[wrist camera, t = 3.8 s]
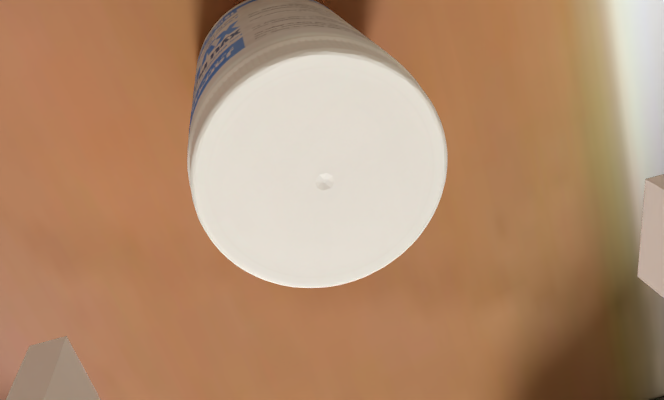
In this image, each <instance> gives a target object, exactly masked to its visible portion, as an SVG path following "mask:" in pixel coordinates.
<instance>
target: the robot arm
mask: <svg viewBox="0 0 664 400" xmlns="http://www.w3.org/2000/svg"><path fill="white" fill-rule="evenodd" d="M637 277H639V278H640V279H641V280H642V281H643V282H645V283H646V284H647V285H648V286H650V287H651V288H652V289H653V290H654V291H656V292H657V293H658V294H659V295H661V296H662V297H663V298H664V174H663V175H659V176H655V177H652V178H648V179H645V191H644V203H643V215H642V227H641V239H640V251H639V264H638V276H637ZM6 400H101V399H100V397H99V396H98V394H97V392H96V390H95V388H94V386H93V384H92V383H91V381H90V379H89V377H88V375H87V373H86V371H85V370H84V368H83V366H82V364H81V362H80V360H79V358H78V357H77V355H76V353H75V351H74V349H73V347H72V345H71V343H70V342H69V340H68V338H67V336H65V337H61V338H57V339H54V340H50V341H46V342H43V343H39V344H35V345H31V346H29V348H28V350H27V353H26V355H25V357H24V359H23V362H22V364H21V366H20V369H19V371H18V373H17V375H16V378H15V380H14V382H13V385H12V387H11V389H10V391H9V394H8V396H7V398H6ZM656 400H664V397H662V398H659V399H656Z"/></svg>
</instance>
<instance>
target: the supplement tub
mask: <svg viewBox="0 0 664 400" xmlns="http://www.w3.org/2000/svg"><path fill="white" fill-rule="evenodd" d="M187 161H188V176H189V182H190V187H191V192H192V199H193V202H194V206H195V209H196V212H197V215H198V218H199V220H200V222H201V224H202V226H203V228H204V230H205V231H206V233H207V235H208V236H209V238H210V239H211V241H212V242H213V243H214V245H215V246H216V247H217V248H218V249H219V250H220V251H221V253H223V254H224V255H225V256H226V257H227V258H228V259H229V260H230V261H232V262H233V263H234V264H235V265H237V266H238V267H240V268H241V269H243V270H245V271H246V272H248V273H250V274H252V275H254V276H256V277H258V278H261V279H263V280H266V281H269V282H272V283H276V284H280V285H284V286H290V287H300V288H320V287H330V286H336V285H341V284H345V283H349V282H352V281H355V280H358V279H361V278H363V277H365V276H368V275H370V274H372V273H374V272H376V271H378V270H379V269H381V268H383V267H385V266H386V265H388V264H389V263H391V262H392V261H393V260H395V259H396V258H397V257H399V256H400V255H401V254H402V253H403V252H405V251H406V250H407V249H408V248H409V247H410V246H411V245H412V244H413V243H414V242H415V241H416V239H417V238H418V237H419V236H420V235H421V233H422V232H423V230H424V229H425V227H426V226H427V225H428V223H429V221H430V220H431V218H432V216H433V214H434V212H435V210H436V208H437V206H438V203H439V201H440V199H441V196H442V192H443V188H444V184H445V180H446V173H447V145H446V139H445V135H444V130H443V127H442V124H441V121H440V118H439V116H438V114H437V112H436V110H435V108H434V106H433V104H432V102H431V101H430V99H429V98H428V96H427V95H426V93H425V92H424V91H423V90H422V88H421V87H420V85H419V84H418V83H417V81H416V80H415V79H414V78H413V76H412V75H411V74H410V73H409V72H408V71H407V70H406V69H405V68H404V67H403V66H402V65H401V64H400V63H399V62H397V61H396V60H395V59H394V58H393V57H392V56H390V55H389V54H388V53H387V52H386V51H384V50H383V49H382V48H380V47H379V46H378V45H377V44H375V43H374V42H373V41H371V40H370V39H368V38H367V37H366V36H364V35H363V34H362V33H361V32H359V31H358V30H357V29H355V28H354V27H353V26H351V25H350V24H349V23H347V22H346V21H345V20H343V19H342V18H341V17H339V16H338V15H337V14H335V13H334V12H333V11H331V10H330V9H329V8H327V7H326V6H324V5H322V4H320V3H319V2H317V1H314V0H246V1H244V2H242V3H240V4H238V5H236V6H235V7H233V8H232V9H230V10H229V11H228V12H227V13H225V14H224V15H223V16H222V17H221V18H220V19H219V20H218V21H217V22H216V24H215V25H214V26H213V27H212V29H211V30H210V32H209V33H208V35H207V37H206V38H205V41H204V43H203V45H202V48H201V51H200V54H199V57H198V62H197V68H196V77H195V86H194V94H193V103H192V112H191V120H190V128H189V141H188V160H187Z"/></svg>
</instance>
